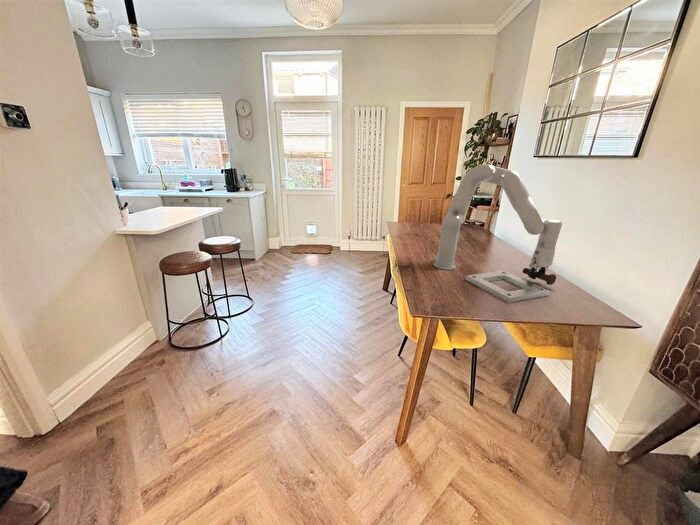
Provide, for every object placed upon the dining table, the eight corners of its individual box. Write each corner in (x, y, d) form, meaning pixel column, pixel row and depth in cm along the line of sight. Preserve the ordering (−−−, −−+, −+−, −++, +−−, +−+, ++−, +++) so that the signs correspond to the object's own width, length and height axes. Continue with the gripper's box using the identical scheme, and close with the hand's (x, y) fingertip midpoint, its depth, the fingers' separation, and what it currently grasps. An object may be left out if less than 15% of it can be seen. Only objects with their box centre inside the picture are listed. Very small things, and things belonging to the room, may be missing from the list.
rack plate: (465, 279, 143) (466, 275, 142) (502, 274, 152) (503, 270, 151) (508, 302, 120) (509, 297, 119) (548, 295, 129) (550, 290, 128)
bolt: (523, 276, 149) (551, 286, 136) (518, 273, 147) (547, 283, 134) (529, 267, 149) (558, 276, 135) (524, 263, 146) (553, 273, 133)
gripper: (541, 247, 129) (531, 282, 136) (565, 245, 135) (554, 278, 142) (527, 243, 136) (517, 276, 142) (550, 241, 142) (540, 273, 148)
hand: (536, 277), depth 142 cm, fingers closed on bolt, 5 cm apart
